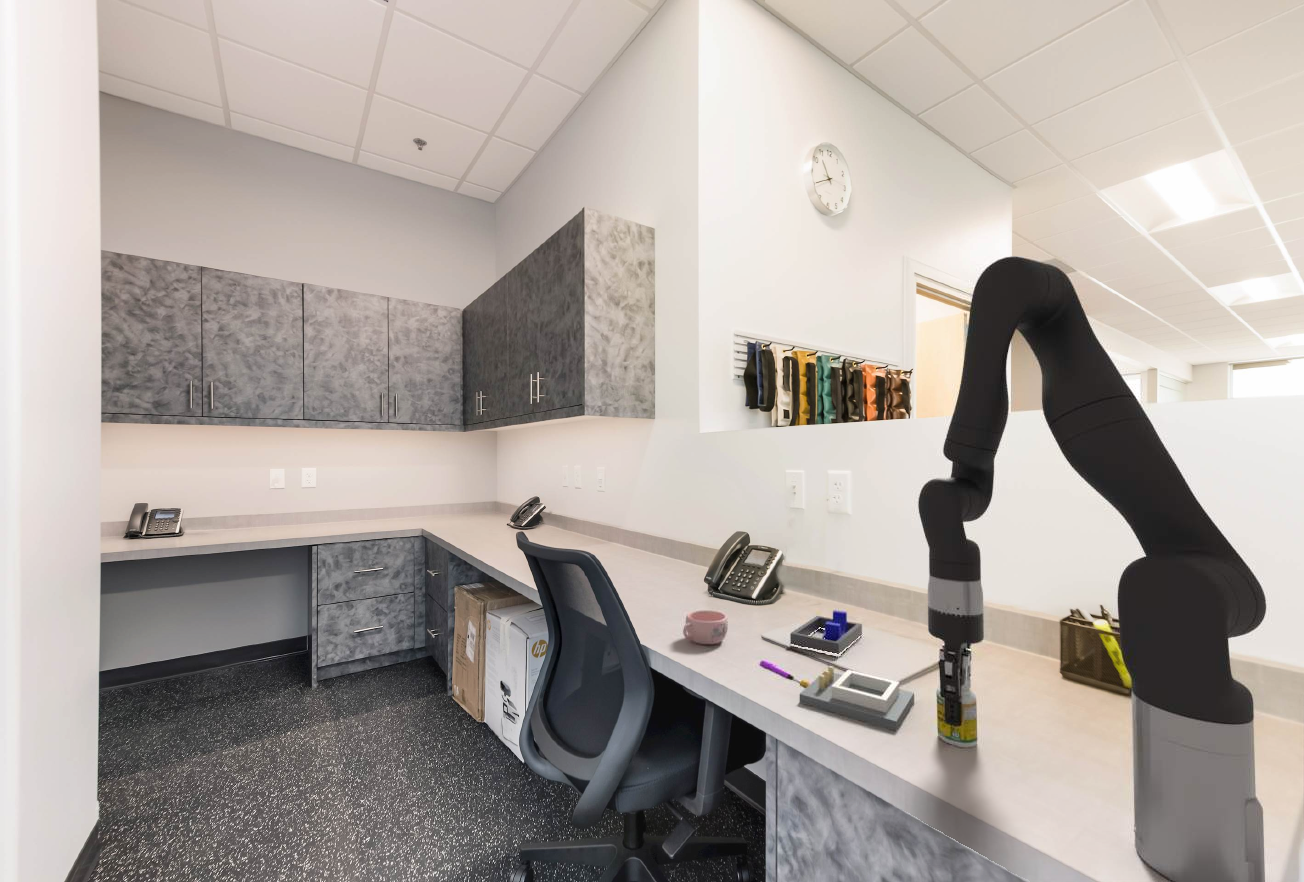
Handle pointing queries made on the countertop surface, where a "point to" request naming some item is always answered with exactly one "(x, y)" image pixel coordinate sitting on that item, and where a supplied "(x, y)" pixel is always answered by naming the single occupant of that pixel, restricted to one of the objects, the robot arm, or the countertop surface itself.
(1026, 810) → the countertop surface
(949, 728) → the supplement bottle
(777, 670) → the purple handled brush
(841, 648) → the tray
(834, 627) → the cable clip
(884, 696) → the board
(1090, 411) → the robot arm
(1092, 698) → the countertop surface
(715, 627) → the mug
